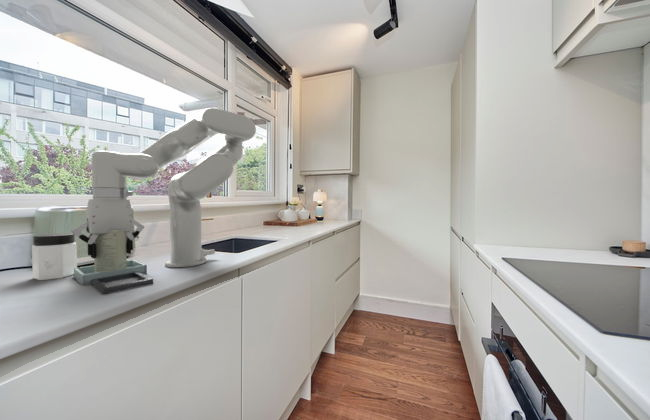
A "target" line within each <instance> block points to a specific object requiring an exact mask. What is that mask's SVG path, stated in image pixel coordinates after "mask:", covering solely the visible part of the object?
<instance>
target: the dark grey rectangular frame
mask: <svg viewBox="0 0 650 420" xmlns="http://www.w3.org/2000/svg"><path fill="white" fill-rule="evenodd" d="M130 278H136V279H137V280H136V281H131V282H125V283H122V284H117V285H116V284H115V285H112V286H107V285H105V284H104V283H109V282H110V283H111V282H115V281H121V280H125V279H130ZM152 284H154V279H153V278H152V277H150V276H147V274H142V273H140V272H138V271H137V272H131V273H126V274H120V275H114V276H109V277H103V278H97V279H92V280H91V284H90V285H91V286H92V287H94V288H95V289H97V291H99V292H100V294H102V295H106V294H111V293H116V292H119V291H120V292H121V291H126V290H130V289H134V288H139V287H143V286H147V285H152Z"/></svg>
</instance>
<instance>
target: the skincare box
mask: <svg viewBox="0 0 650 420" xmlns="http://www.w3.org/2000/svg"><path fill="white" fill-rule="evenodd" d="M94 242H95V244H96V258H94V260H93V262H94V264H93V265H94V272H105V271H111V270H117V269H123V268H126V261H127V257H128V256H127V254H128V253H127V235H126V234H125V232H124V230H110V232H109V233H108V234H99V235H98V237H97V238H96V240H95V241H94Z"/></svg>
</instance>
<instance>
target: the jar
mask: <svg viewBox="0 0 650 420" xmlns="http://www.w3.org/2000/svg"><path fill="white" fill-rule="evenodd" d="M75 237H76V235H75V234H73V233H72V232H61V233H60V232H59V233H56V232H55V233H46V234H45V233H43V234H36V235H34V236H32V241H33V243H32V245H31V256H32V257H31V258H32V260H31V261H32V262H31V263H32V264H31V266H32V279H35V280H36V281H47V280H55V279H64V278H66V277H70V276H74V275H73V274H74V268H78V258H77V257H78V254H77V253H78V252H77V249H78V248H77V245H78V244H77V242H76V238H75Z"/></svg>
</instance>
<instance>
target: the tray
mask: <svg viewBox="0 0 650 420" xmlns="http://www.w3.org/2000/svg"><path fill="white" fill-rule="evenodd" d="M147 268H148V267H147V264H145V263H142V262H139V261H137V260H135V259H129V260H126V268H123V269H117V270H111V271H105V272H94V264H93V265H87V266H80V267H77V268H74V275H73V278H75V280H76V281H78V282H79V283H80V284H81V285H82V286H86V285H92V284H91V280H92V279H97V278H103V277H109V276H114V275H120V274H126V273H131V272H137V271H138V272H140V273H142V274H144V275H147V271H148V269H147Z"/></svg>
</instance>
